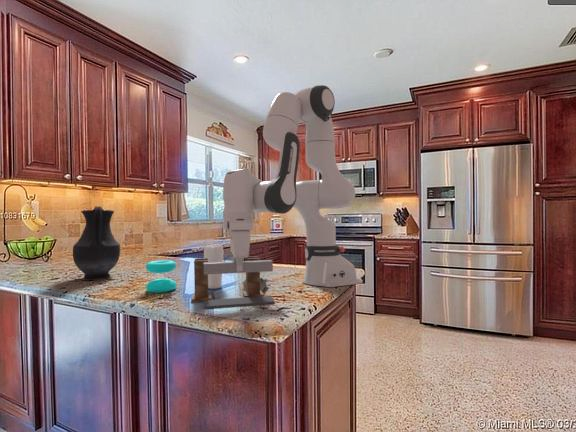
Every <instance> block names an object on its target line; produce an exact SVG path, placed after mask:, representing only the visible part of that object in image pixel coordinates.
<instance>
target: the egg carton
mask: <svg viewBox="0 0 576 432" xmlns="http://www.w3.org/2000/svg"><path fill="white" fill-rule="evenodd" d="M267 282H268V279H267V278H264V279H263V277H260V290H261V291H262V292H264V290H265V288H267ZM242 286H243V291H246V279H245V280H244V281H242Z"/></svg>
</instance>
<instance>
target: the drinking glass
mask: <svg viewBox="0 0 576 432" xmlns="http://www.w3.org/2000/svg"><path fill="white" fill-rule="evenodd" d="M203 258H208V262H224V245H221V244H211V245H210V244H209V245H204V246H203ZM222 278H223V274H208V290H209V289H210V290H216V289H217V290H218V289H220V288H221V287H222V286H223V285H222V284H223V283H222V282H223V279H222Z"/></svg>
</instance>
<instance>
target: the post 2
mask: <svg viewBox="0 0 576 432" xmlns="http://www.w3.org/2000/svg"><path fill="white" fill-rule="evenodd" d="M258 260H261V258H260V257H259V256H256V255H255V256H253V255H252V256H248V257H247V258H245V261H258ZM260 278H261V272H247V273H245V280H246V291H244V290H242V296H243V298H244V297H259V296H265V293H264V292H263V291H261V290H260Z"/></svg>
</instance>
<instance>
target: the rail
mask: <svg viewBox="0 0 576 432" xmlns="http://www.w3.org/2000/svg"><path fill="white" fill-rule="evenodd" d="M273 263H274V261H273V260H272V259H266V260H265V259H262V260H261V259H260V260H258V261H246V260H243V271H241V272H238V271H237V270H236V261H235V260H234V261H223V262H208V263H204V275H205V274H222V275H223V274H244V273H245V274H246V273H247V272H260V273H264V272H265V273H268V272H273V270H274V269H273V266H274V265H273Z"/></svg>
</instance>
